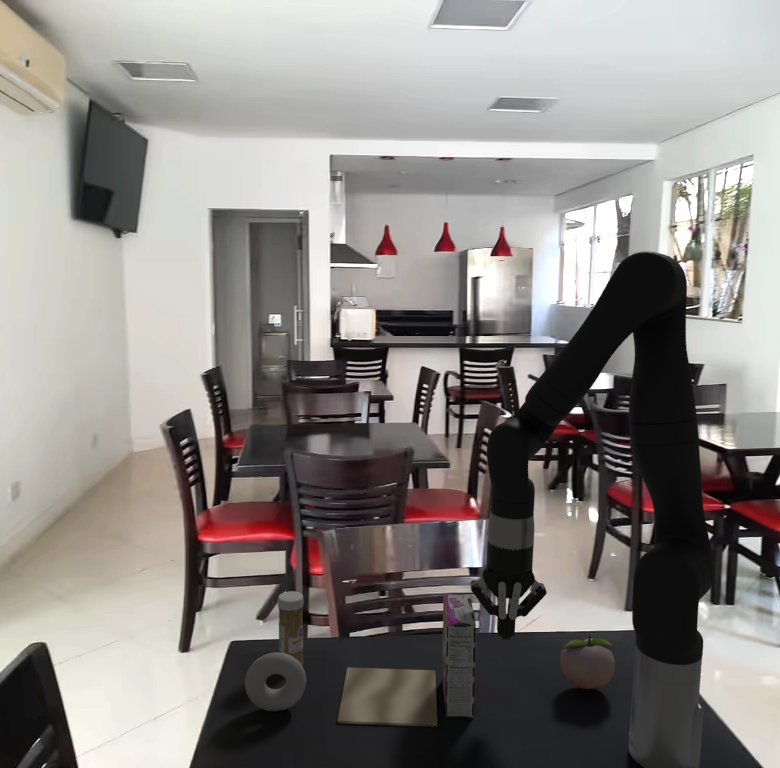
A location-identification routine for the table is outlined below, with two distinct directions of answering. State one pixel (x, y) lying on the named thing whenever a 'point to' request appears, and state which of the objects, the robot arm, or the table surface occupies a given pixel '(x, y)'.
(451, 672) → the candy bar box
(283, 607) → the sprinkles bottle
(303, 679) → the donut
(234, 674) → the table surface
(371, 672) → the oak mat
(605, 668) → the decorative fruit
